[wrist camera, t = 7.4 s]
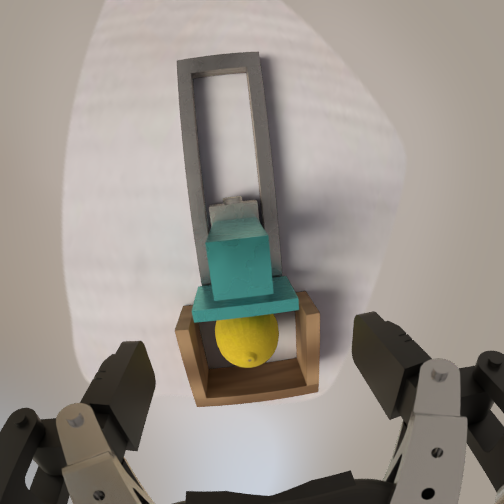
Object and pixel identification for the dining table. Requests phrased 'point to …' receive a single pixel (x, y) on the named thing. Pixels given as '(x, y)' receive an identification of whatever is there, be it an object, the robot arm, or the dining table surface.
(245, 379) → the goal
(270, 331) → the lemon
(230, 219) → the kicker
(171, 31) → the dining table surface
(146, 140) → the dining table surface
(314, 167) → the dining table surface
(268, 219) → the rails
